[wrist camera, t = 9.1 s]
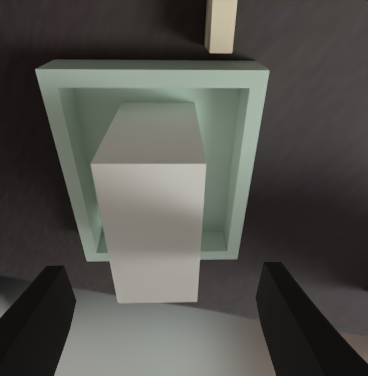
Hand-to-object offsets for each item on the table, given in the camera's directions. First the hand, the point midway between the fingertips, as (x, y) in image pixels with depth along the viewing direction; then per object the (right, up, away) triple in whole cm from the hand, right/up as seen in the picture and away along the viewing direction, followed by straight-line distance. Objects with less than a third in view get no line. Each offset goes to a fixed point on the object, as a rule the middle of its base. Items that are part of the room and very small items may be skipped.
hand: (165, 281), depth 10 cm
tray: (-1, +5, +8) cm, 9 cm away
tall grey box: (-1, +5, +7) cm, 9 cm away
